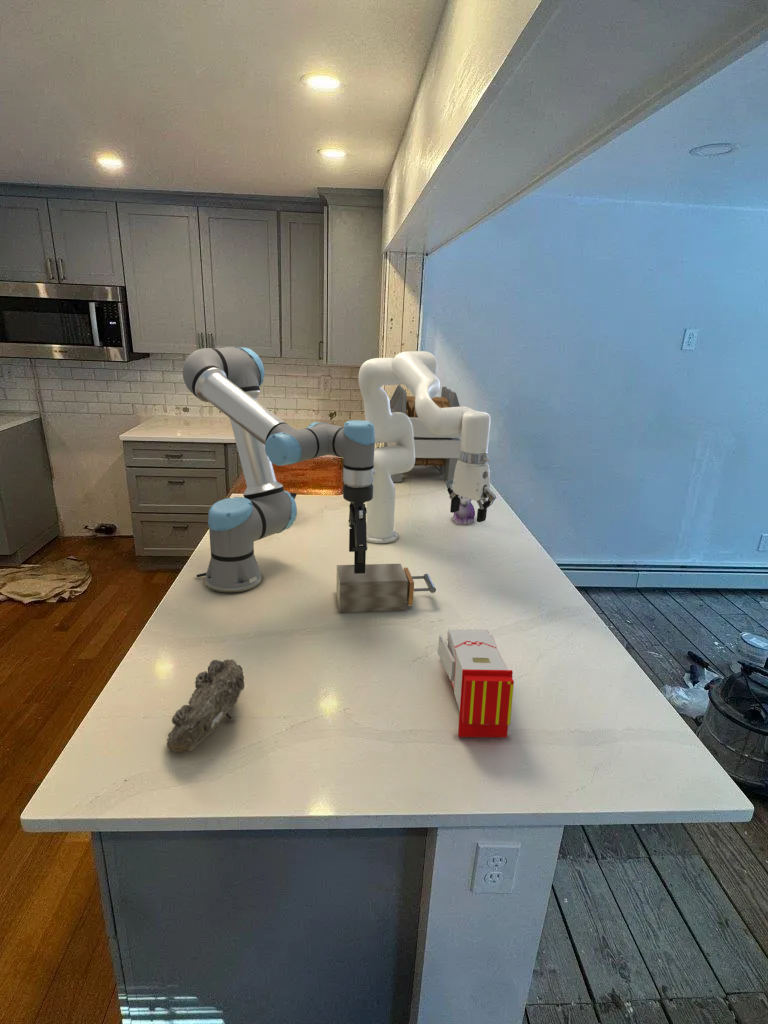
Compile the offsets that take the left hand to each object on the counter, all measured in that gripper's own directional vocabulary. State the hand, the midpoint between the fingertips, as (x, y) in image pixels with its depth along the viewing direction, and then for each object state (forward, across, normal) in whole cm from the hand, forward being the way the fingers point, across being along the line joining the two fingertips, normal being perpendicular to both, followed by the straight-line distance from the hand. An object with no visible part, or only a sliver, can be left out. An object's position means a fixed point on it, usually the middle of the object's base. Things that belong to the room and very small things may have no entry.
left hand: (356, 561), depth 148 cm
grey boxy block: (+12, 0, -4) cm, 13 cm away
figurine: (+12, +59, -47) cm, 77 cm away
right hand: (-8, +10, -32) cm, 35 cm away
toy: (+12, -40, -20) cm, 46 cm away
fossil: (+12, -42, +32) cm, 54 cm away
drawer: (+11, 0, -10) cm, 15 cm away
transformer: (+12, +125, -44) cm, 133 cm away
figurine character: (+12, +66, +19) cm, 70 cm away
